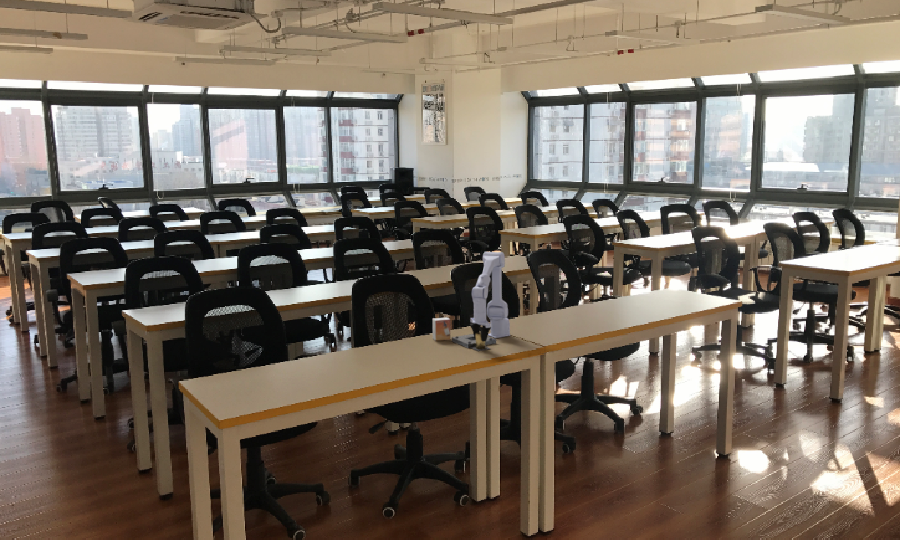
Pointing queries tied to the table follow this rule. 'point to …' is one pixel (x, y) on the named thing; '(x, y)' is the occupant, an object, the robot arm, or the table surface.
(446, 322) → the small box
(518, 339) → the table surface
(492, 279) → the robot arm
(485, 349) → the mat
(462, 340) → the housing
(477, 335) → the brass cylinder
